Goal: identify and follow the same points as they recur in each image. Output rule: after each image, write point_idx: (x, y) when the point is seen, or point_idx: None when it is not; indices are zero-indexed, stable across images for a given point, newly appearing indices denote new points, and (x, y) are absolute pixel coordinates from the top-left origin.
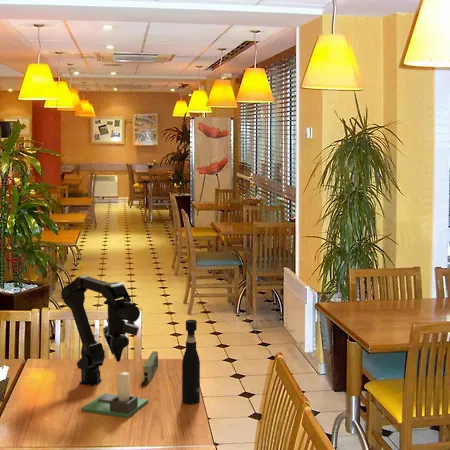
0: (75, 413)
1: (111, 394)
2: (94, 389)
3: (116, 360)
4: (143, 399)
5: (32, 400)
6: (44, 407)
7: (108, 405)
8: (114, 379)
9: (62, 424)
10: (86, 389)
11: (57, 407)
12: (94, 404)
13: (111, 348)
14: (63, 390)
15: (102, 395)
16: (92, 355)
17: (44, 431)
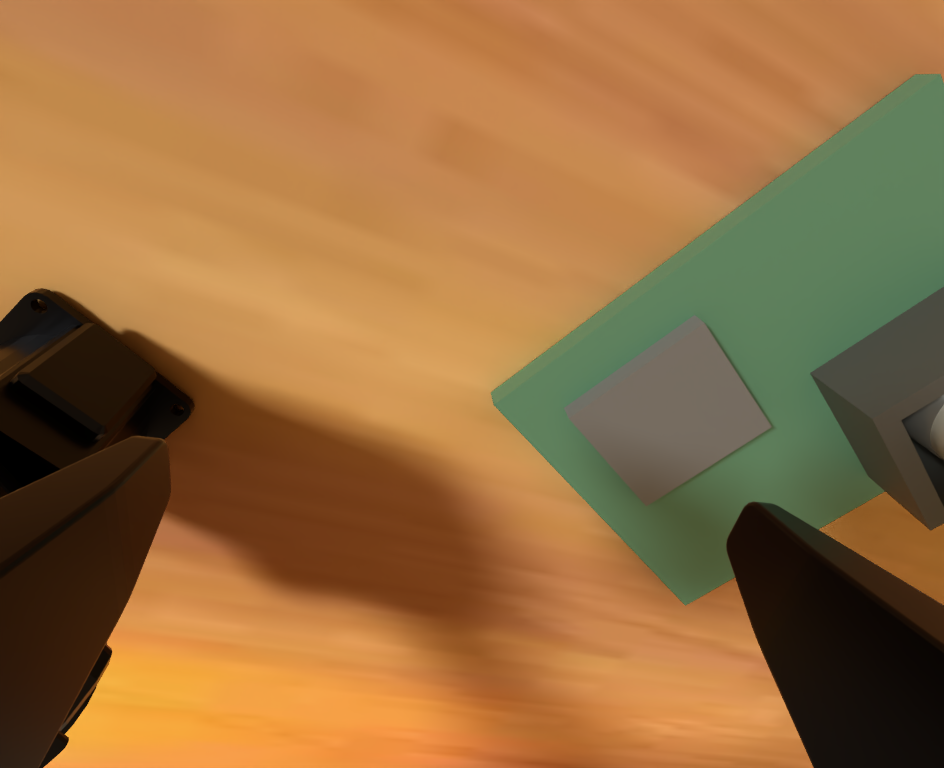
0: (693, 621)
1: (623, 388)
2: (294, 417)
3: (736, 571)
4: (898, 124)
5: (354, 751)
6: (499, 721)
7: (776, 457)
8: (6, 120)
9: None
10: (269, 472)
11: (539, 676)
12: (687, 530)
13: (73, 652)
14: (231, 607)
15: (546, 435)
16: (56, 742)
17: (795, 749)
